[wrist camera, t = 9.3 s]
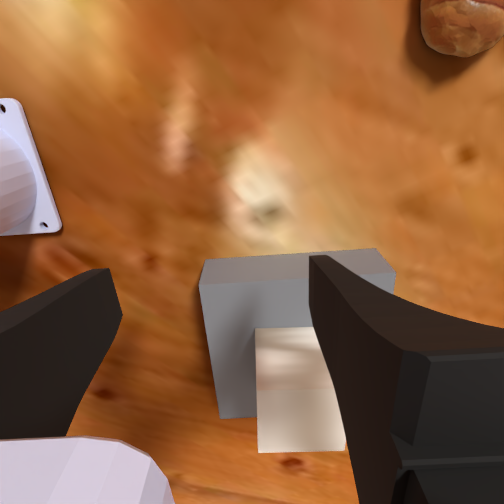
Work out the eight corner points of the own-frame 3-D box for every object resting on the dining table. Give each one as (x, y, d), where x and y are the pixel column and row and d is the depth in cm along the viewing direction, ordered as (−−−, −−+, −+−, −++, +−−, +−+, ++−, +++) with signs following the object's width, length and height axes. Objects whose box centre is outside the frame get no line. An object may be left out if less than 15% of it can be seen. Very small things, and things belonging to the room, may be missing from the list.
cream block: (256, 384, 23) (258, 452, 19) (254, 328, 21) (256, 390, 17) (325, 382, 23) (344, 450, 19) (331, 326, 21) (353, 388, 17)
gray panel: (223, 378, 28) (220, 419, 25) (206, 256, 23) (198, 285, 20) (360, 370, 28) (376, 410, 25) (373, 245, 23) (396, 272, 19)
